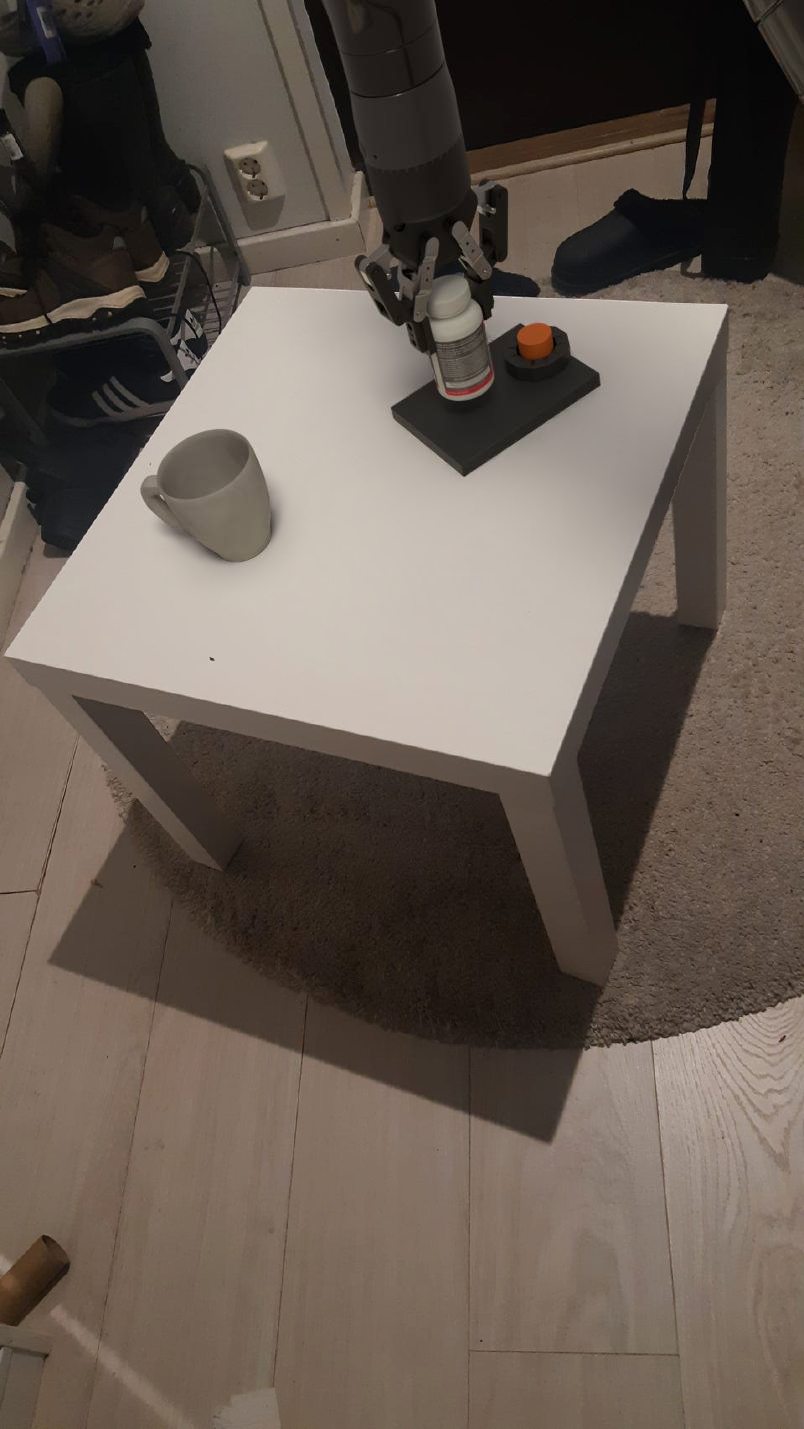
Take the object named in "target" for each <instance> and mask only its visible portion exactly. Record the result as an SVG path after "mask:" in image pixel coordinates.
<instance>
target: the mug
mask: <svg viewBox="0 0 804 1429" xmlns="http://www.w3.org/2000/svg"><path fill="white" fill-rule="evenodd" d="M139 491H140V495H141V498H142V500H143V502H144V504H145V505H146V506H147V508H148V510H150V511H151V512H152V513H153V514H154V515H155V516H156V517H158V519H160V520H161V521H162V522H164V523H165V524H167V525H168V526H170V527H172V528H174V529H179V530H185V531H187V532H188V533H189V534H190V535H191V536H192V537H193V538H194V539H195V540H196V541H198V542H199V543H200V544H202V545H203V546H204V547H206V548H207V549H209V550H211V551H212V552H214V553H216V554H217V555H219V557H221V558H222V559H223V560H225V561H228V562H231V563H240V562H245V561H249V560H251V559H254V558H255V557H257V556H258V555H259V554H261V553H262V552H263V551H264V550H265V549H266V548H267V546H268V545H269V543H270V540H271V536H272V530H271V519H272V518H271V515H272V510H271V509H272V508H271V497H270V493H269V489H268V484H267V480H266V478H265V475H264V471H263V469H262V466H261V464H260V461H259V459H258V457H257V454H256V452H255V450H254V447H253V446H252V445H251V443H250V441H249V440H248V439H247V438H246V437H245V436H244V435H243V434H241V433H239V432H238V431H235V430H232V429H227V428H214V429H208V430H203V431H200V432H197V433H195V434H193V435H190V436H188V437H187V438H184V439H183V440H181V441H180V442H178V443H177V444H175V445H174V446H173V447H172V448H171V449H170V450H169V451H168V452H167V453H166V454H165V456H164V457H163V458H162V460H161V461H160V462H159V465H158V468H157V473H156V474H151V475H147V476H146V477H145V478H144V479H143V481H142V483H141V485H140V490H139Z"/></svg>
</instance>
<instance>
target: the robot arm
mask: <svg viewBox="0 0 804 1429" xmlns="http://www.w3.org/2000/svg"><path fill="white" fill-rule="evenodd" d="M320 1H321V4H322V6H323V8H324V10H325V12H326V15H327V17H328V21H329V23H330V26H331V29H332V32H333V36H334V39H335V42H336V45H337V50H338V54H339V57H340V61H341V65H342V70H343V73H344V77H345V80H346V84H347V87H348V88H347V89H348V91H349V97H350V105H351V112H352V119H353V123H354V128H355V131H356V135H357V139H358V147H359V148H358V149H359V151H360V154H361V155H362V157H363V161H364V165H365V168H366V172H367V176H368V180H369V184H370V187H371V191H372V195H373V198H374V202H375V206H376V209H377V213H378V214H379V218H380V220H381V223H382V235H381V244H380V245H379V247H377V248H376V249H375V250H374V251H373V252H372V253H371V254H370V255H368V256H367V255H366V254H365V255H364V254H359V255H357V256H356V258H355V259H354V262H353V264H354V268H355V270H356V272H357V274H358V275H359V277H360V279H361V281H362V283H363V285H364V287H365V289H366V290H367V293H368V294H369V296H370V299H371V300H372V302H373V303H374V306H375V307H376V309H377V311H378V313H379V314H380V315H381V316H382V317H383V318H385V319H386V320H388V321H389V322H391V323H392V324H393V325H394V326H396V327H402V326H404V324H405V328H406V332H407V336H408V339H409V342H410V345H411V346H412V347H413V348H414V349H416V350H417V351H419V352H420V353H422V354H425V355H426V356H428V357H429V356H431V355H433V354H434V353H436V352H437V349H436V345H435V341H434V337H433V333H432V329H431V325H430V321H429V317H428V316H426V307H427V298H428V294H429V293H431V291H432V286H433V280H434V276H435V274H436V273H438V272H439V271H440V270H441V269H442V268H443V267H444V266H445V265H446V264H450V263H453V262H456V261H457V260H458V261H459V262H460V263H461V265H462V266H463V267H464V269H465V270H467V271H466V272H467V273H466V274H464V276H463V277H464V278H465V279H466V280H467V282H468V285H469V289H470V292H471V299H473V300H475V301H476V302H477V303H478V304H479V306H480V307H481V310H482V314H483V319H484V322H486V321H487V320H489V319H490V318H492V316H493V313H492V310H493V309H494V308H495V297H494V292H493V287H492V281H491V276H492V273H493V268H494V267H495V266H496V265H497V263H503V262H505V261H506V259H507V257H508V255H509V190H508V188H506V187H505V186H503V185H501V184H500V183H498V182H496V181H494V180H491V179H489V178H487V177H486V178H482V179H481V180H480V182H479V183H478V187H474V188H472V177H471V171H470V166H469V160H468V156H467V149H466V145H465V138H464V132H463V128H462V123H461V122H462V121H461V119H460V118H461V117H460V112H459V106H458V101H457V96H456V91H455V87H454V84H453V80H452V77H451V74H450V71H449V68H448V65H447V61H446V57H445V50H444V46H443V41H442V40H443V39H442V34H441V30H440V24H439V20H438V15H437V7H436V2H435V0H320ZM742 2H743V4H744V6H745V8H746V10H747V12H748V14H749V15H750V17H751V19H752V20H753V23H756V24H758V25H757V29H758V31H759V33H760V34H761V36H762V38H763V39H764V41H765V43H766V45H767V47H768V49H769V50H770V51H771V53H772V55H773V57H774V58H775V60H776V62H777V64H778V65H779V67H780V68H781V71H782V72H783V74H784V75H785V77H786V79H787V81H788V82H789V84H790V85H791V88H792V89H793V90H794V93H795V94H796V95H797V96H798V100H800V102H801V104H802V105H803V106H804V0H742ZM758 22H759V23H758ZM476 212H478V242H476V240H475V239H474V237H473V235H472V234H471V229H472V226H473V223H474V220H475V217H476ZM393 258H394V259H395V260H398V262H397V274H396V280H397V282H398V284H399V291H398V296H397V293H396V291H395V290H394V288H393V286H392V284H391V282H390V280H391V279H392V276H393V274H392V269H391V261H392V259H393Z"/></svg>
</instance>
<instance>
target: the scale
mask: <svg viewBox="0 0 804 1429" xmlns="http://www.w3.org/2000/svg"><path fill="white" fill-rule="evenodd" d="M525 326H526V325H525V324H524V323H522V322H519V323H518V324H516V325H515V326H513V327H512V328H510V329H509V330H507V331H506V332H504V333H502V334H501V335H500V336H498V337H496V338H495V339H493V340H492V341H490V342H488V345H489V350H490V354H491V359H492V364H493V370H494V381H493V383H492V385H491V386H490V387H489V389H488V390H487V391H486V392H484V393H483V394H482V395H480V396H478V397H476V398H473V399H470V400H464V401H454V400H450V399H447V398H445V397H443V396H442V395H441V394H440V392H439V391H438V388H437V384H436V381H435V378H433V379H432V380H430V381H428V382H427V383H426V384H424V385H423V386H421V387H420V388H418V389H416V390H415V391H413V392H411V393H410V394H409V395H407V396H405V397H403V399H401V400H400V401H398V402H396V403H395V404H394V405H392V406H390V410H391V415H392V418H393V419H394V420H395V421H396V422H398V424H400V425H402V427H403V428H405V430H407V431H408V432H410V434H412V435H413V436H414V437H415V438H417V439H418V440H419V441H420V442H422V444H424V445H425V446H426V447H427V448H429V449H430V450H431V451H432V452H434V453H435V454H436V455H438V457H440V459H442V460H443V461H444V462H446V463H447V464H449V466H451V468H453V469H454V470H455V471H457V472H458V473H459V474H460V475H462V476H463V477H466V476H467V475H469V474H471V473H472V472H474V471H475V470H477V469H478V468H480V467H481V466H483V465H484V464H485V463H487V462H488V461H490V460H491V459H493V458H494V457H496V456H497V455H499V454H500V453H501V452H503V451H505V450H506V449H508V448H509V447H511V446H512V445H514V444H516V443H517V442H518V441H520V440H521V439H523V438H524V437H525V436H527V435H529V434H530V433H532V432H533V431H534V430H536V429H538V428H539V427H540V426H542V425H543V424H545V423H546V422H548V421H549V420H551V419H553V418H554V417H555V416H557V415H558V414H560V413H561V412H563V411H564V410H566V409H567V408H569V407H570V406H572V405H573V404H574V403H576V402H578V401H579V400H581V399H582V398H584V397H585V396H586V395H588V394H590V393H591V392H592V391H594V390H596V389H597V388H598V387H600V386H601V374H600V372H598V371H597V370H596V369H594V368H592V367H590V366H589V365H587V364H586V363H585V362H583V361H581V360H580V359H579V358H577V357H575V356H574V355H572V353H571V352H572V351H571V344H570V343H571V342H570V340H569V336H568V333H567V332H566V331H564V330H563V329H561V328H559V327H558V326H555V325H548V326H549V327H550V328H551V331H552V339H553V350H552V352H551V353H550V354H548V355H547V356H545V357H543V358H538V359H534V360H531V359H524V358H523V357H522V356H521V355H520V352H519V346H518V340H517V335H518V332H519V331H520V330H521V329H522V328H523V327H525Z"/></svg>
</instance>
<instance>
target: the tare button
mask: <svg viewBox="0 0 804 1429" xmlns="http://www.w3.org/2000/svg"><path fill="white" fill-rule="evenodd" d="M549 326H550V325H548V324H547V323H544V322H533V323H529V324H527V325H525V327H523V328H522V329H521V330H520V331H519V332H518V335H517V340H518V346H519V352H520V355H521V356H522V357H523V358H524V359H531V360H534V359H538V358H543V357H545V356H547V355H548V354H550V353H551V352H552V350H553V339H552V331H551V328H550V327H549Z"/></svg>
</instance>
